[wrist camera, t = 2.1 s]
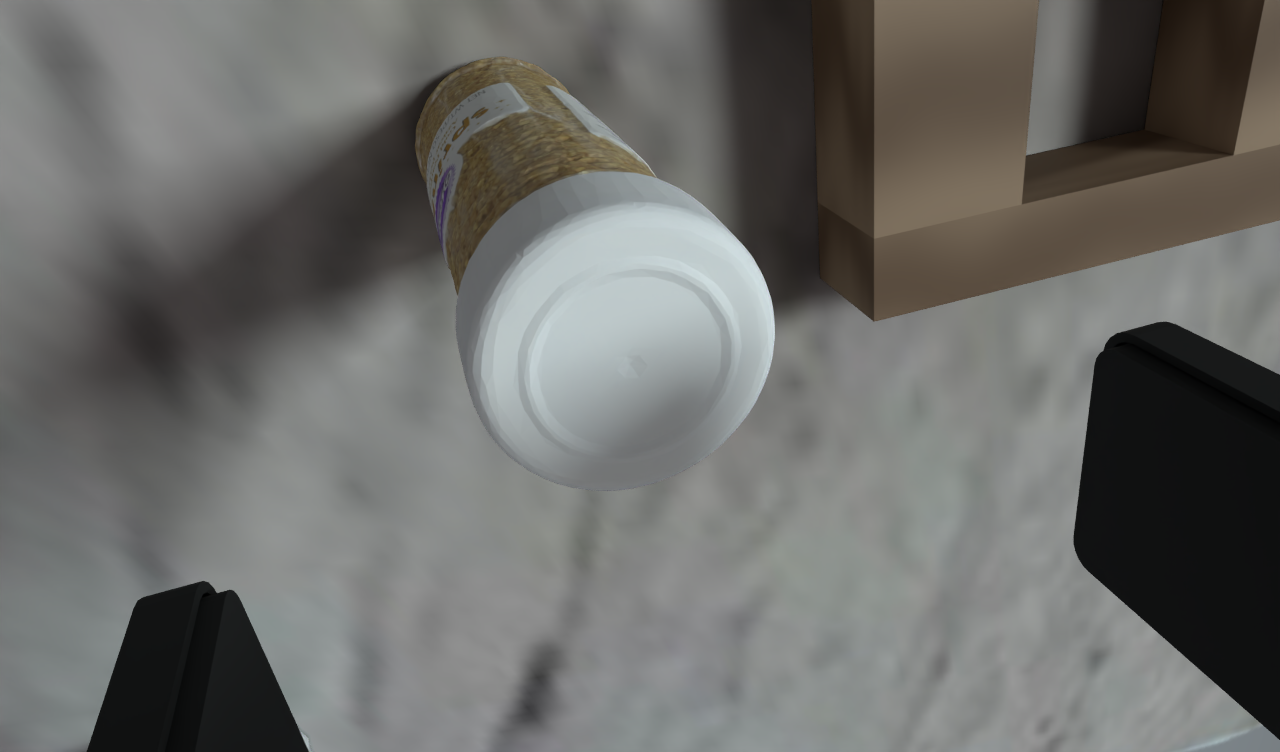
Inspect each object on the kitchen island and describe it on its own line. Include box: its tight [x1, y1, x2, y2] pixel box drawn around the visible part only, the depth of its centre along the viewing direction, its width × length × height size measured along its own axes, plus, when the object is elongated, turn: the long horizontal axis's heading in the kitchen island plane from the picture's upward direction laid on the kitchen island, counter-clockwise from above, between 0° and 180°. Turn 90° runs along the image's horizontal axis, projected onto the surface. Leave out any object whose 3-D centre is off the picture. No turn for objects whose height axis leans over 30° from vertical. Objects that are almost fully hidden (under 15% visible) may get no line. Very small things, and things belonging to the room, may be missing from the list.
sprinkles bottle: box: [415, 57, 775, 491], centre depth 18 cm, size 5×5×14 cm
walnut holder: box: [811, 0, 1280, 321], centre depth 25 cm, size 12×16×4 cm
